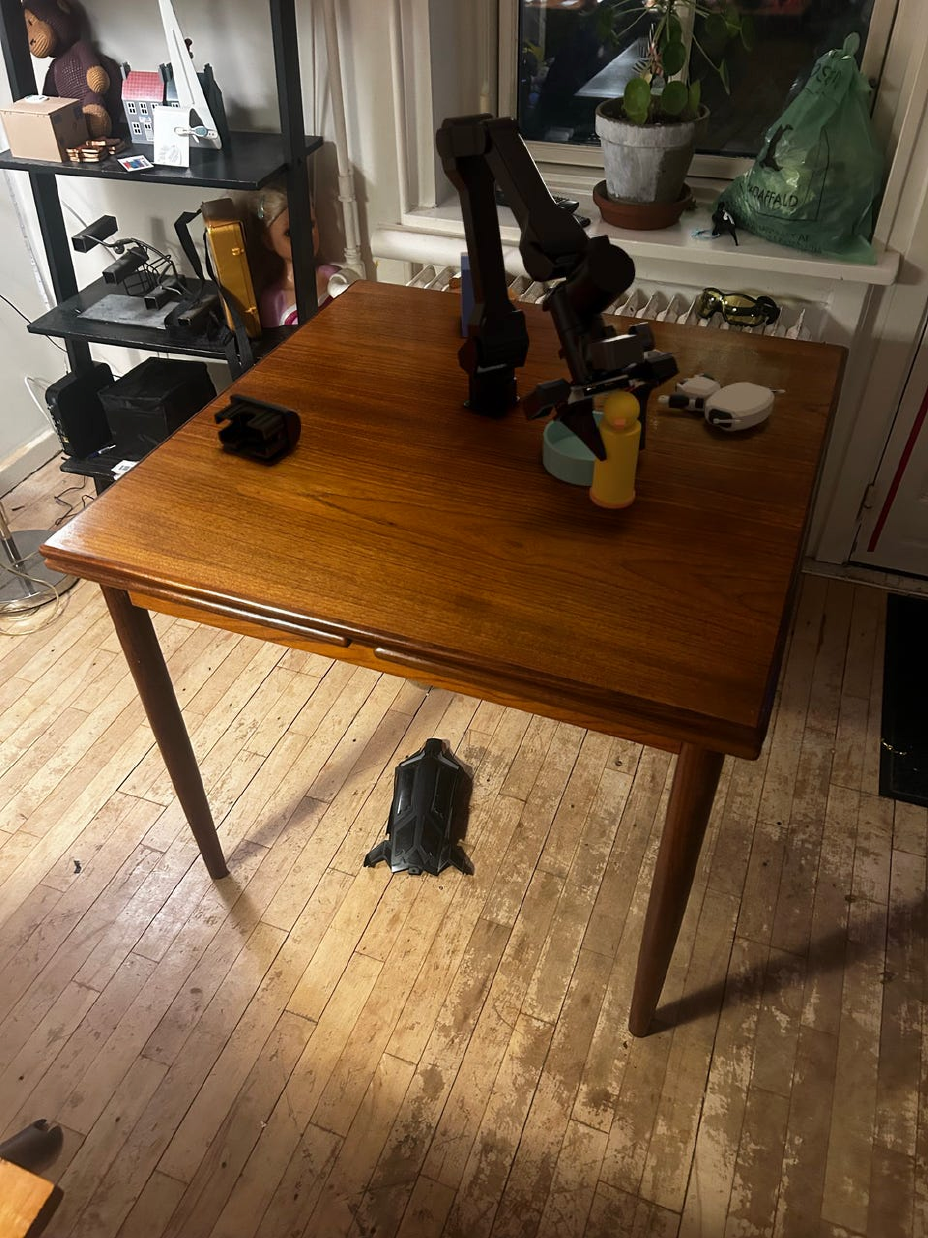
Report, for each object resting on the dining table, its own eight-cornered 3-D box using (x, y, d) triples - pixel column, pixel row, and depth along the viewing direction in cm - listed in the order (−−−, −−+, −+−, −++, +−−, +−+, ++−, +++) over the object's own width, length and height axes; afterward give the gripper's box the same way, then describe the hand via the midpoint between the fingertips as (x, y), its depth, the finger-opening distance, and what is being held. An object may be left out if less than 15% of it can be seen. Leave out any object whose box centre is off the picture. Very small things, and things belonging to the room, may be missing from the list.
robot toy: (651, 418, 138) (739, 447, 130) (652, 390, 136) (743, 418, 127) (697, 389, 145) (785, 415, 136) (700, 362, 142) (789, 386, 133)
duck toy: (591, 481, 118) (600, 380, 108) (635, 485, 117) (648, 383, 108) (587, 509, 113) (596, 406, 104) (633, 513, 112) (647, 410, 103)
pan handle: (594, 423, 132) (595, 413, 131) (583, 423, 132) (584, 413, 131) (592, 389, 139) (593, 379, 138) (581, 389, 140) (582, 379, 138)
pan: (525, 467, 127) (525, 442, 125) (571, 427, 135) (572, 402, 133) (609, 496, 122) (612, 470, 119) (652, 452, 130) (656, 427, 127)
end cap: (305, 444, 133) (299, 402, 129) (273, 468, 128) (266, 425, 124) (251, 427, 137) (243, 385, 132) (219, 450, 132) (209, 407, 128)
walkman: (478, 336, 159) (478, 266, 151) (462, 337, 159) (461, 267, 151) (477, 317, 165) (476, 249, 157) (461, 318, 165) (460, 249, 157)
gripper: (537, 317, 100) (582, 455, 99) (682, 285, 105) (725, 416, 105) (503, 356, 110) (544, 481, 110) (636, 325, 116) (675, 444, 116)
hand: (623, 455), depth 110 cm, fingers closed on duck toy, 5 cm apart
